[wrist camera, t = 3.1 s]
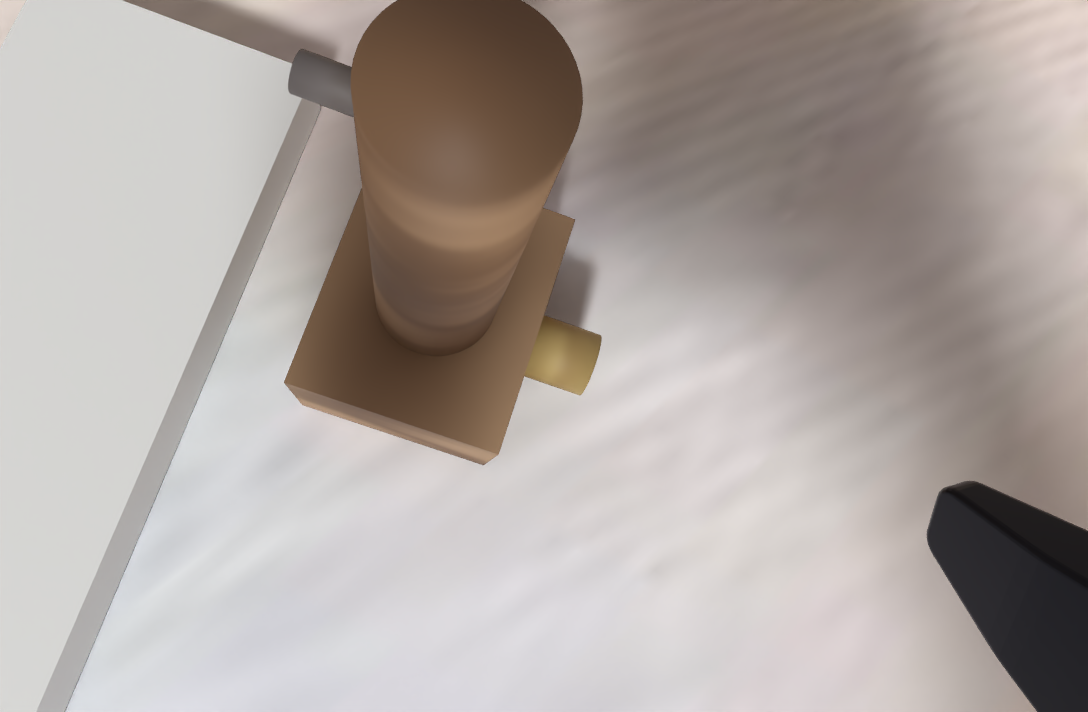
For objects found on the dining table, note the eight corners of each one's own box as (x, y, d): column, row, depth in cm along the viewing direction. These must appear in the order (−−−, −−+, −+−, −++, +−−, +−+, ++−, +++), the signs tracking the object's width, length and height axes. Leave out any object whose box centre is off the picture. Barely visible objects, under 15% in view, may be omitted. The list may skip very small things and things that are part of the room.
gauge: (602, 282, 24) (830, 8, 11) (540, 484, 22) (720, 430, 10) (381, 202, 23) (357, -184, 10) (302, 404, 22) (163, 237, 9)
